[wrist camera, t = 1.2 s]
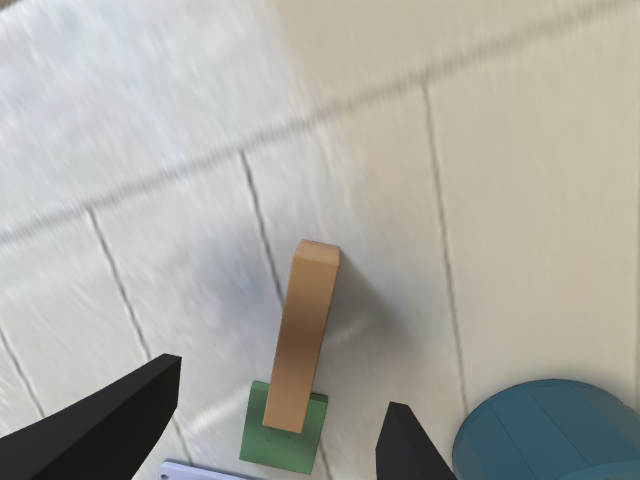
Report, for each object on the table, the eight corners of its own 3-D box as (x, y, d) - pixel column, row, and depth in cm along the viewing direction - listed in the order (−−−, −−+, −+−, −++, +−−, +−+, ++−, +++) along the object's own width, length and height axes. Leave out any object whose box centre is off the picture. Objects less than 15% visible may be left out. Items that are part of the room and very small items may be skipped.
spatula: (311, 467, 21) (306, 519, 18) (241, 451, 21) (224, 500, 18) (363, 251, 17) (368, 270, 14) (277, 234, 17) (264, 248, 14)
